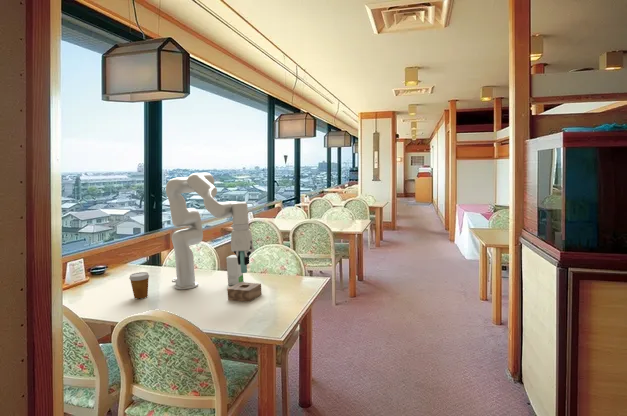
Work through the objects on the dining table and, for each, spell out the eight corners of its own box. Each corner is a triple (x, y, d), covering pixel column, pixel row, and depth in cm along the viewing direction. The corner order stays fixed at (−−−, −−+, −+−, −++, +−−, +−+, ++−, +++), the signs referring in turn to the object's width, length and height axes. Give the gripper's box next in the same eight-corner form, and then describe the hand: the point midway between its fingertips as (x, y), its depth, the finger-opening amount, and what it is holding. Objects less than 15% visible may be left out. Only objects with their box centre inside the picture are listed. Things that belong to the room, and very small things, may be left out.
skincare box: (238, 285, 228) (236, 257, 226) (227, 285, 229) (225, 257, 227) (244, 281, 236) (242, 254, 234) (233, 281, 237) (231, 254, 236)
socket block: (228, 299, 204) (227, 288, 203) (241, 292, 215) (240, 282, 214) (249, 301, 200) (248, 290, 199) (261, 294, 211) (261, 283, 210)
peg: (239, 272, 205) (238, 248, 204) (243, 271, 208) (241, 247, 206) (245, 273, 204) (243, 249, 203) (248, 271, 207) (246, 247, 205)
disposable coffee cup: (155, 294, 217) (153, 272, 216) (142, 300, 208) (140, 277, 207) (140, 293, 220) (138, 271, 219) (126, 299, 211) (124, 276, 210)
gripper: (222, 228, 203) (225, 265, 205) (251, 228, 197) (254, 266, 199) (231, 226, 210) (233, 262, 212) (259, 226, 204) (262, 263, 206)
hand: (243, 263), depth 205 cm, fingers closed on peg, 3 cm apart
